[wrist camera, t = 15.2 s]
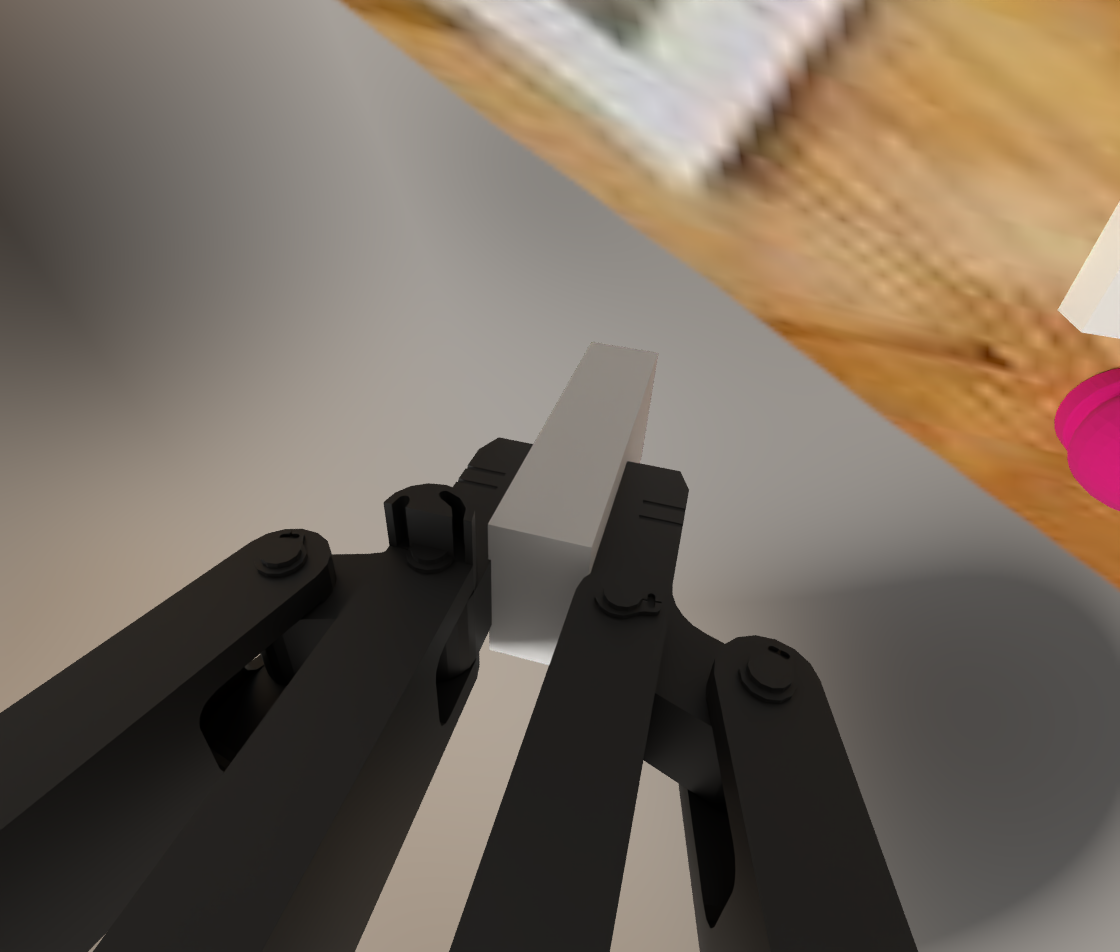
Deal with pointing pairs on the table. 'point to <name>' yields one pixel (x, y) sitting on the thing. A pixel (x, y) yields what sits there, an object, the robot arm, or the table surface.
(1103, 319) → the cream board
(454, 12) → the table surface
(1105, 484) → the pepper mill
